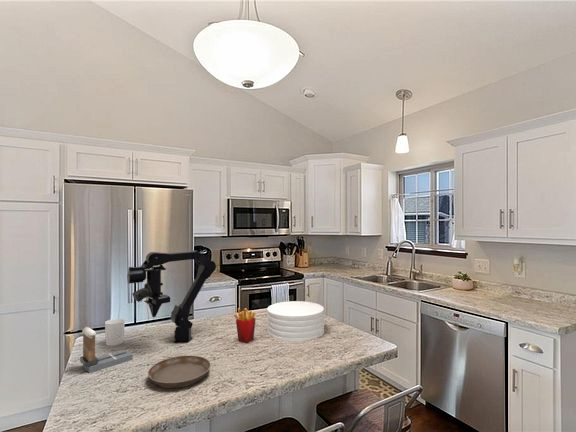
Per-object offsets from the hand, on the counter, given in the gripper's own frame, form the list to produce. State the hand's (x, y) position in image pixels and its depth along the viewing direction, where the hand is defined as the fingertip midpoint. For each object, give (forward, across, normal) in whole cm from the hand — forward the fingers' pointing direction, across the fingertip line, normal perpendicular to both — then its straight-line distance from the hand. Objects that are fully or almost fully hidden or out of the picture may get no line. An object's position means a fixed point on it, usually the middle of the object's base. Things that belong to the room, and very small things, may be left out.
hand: (153, 316), depth 138 cm
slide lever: (+11, +2, -25) cm, 28 cm away
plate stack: (+13, +33, +56) cm, 66 cm away
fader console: (+13, +2, -19) cm, 23 cm away
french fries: (+13, +25, +30) cm, 42 cm away
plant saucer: (+14, +34, -6) cm, 37 cm away
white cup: (+13, -18, -10) cm, 24 cm away
